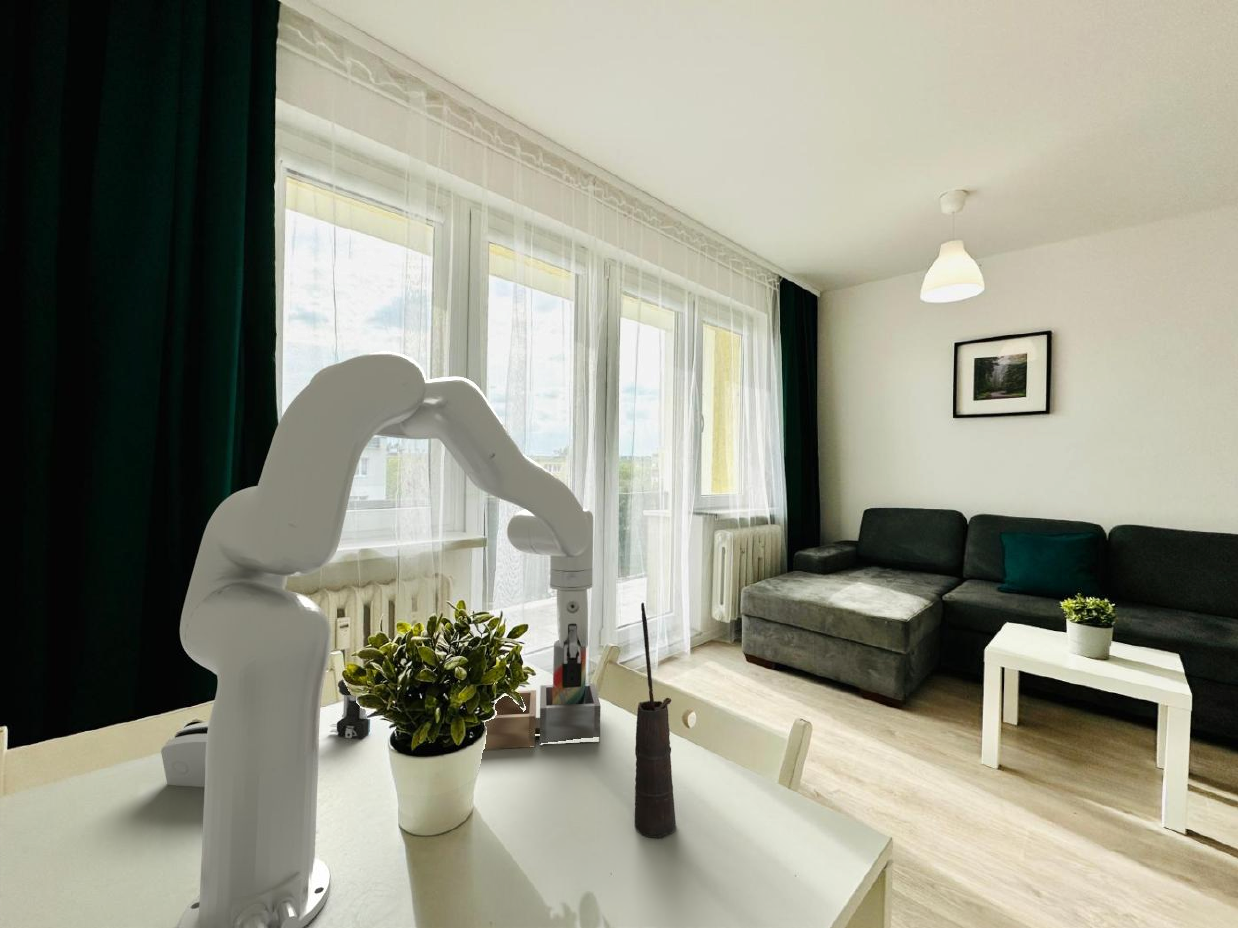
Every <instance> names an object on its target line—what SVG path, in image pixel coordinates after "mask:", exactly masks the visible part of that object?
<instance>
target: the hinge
mask: <svg viewBox="0 0 1238 928" xmlns="http://www.w3.org/2000/svg"><path fill="white" fill-rule="evenodd" d="M208 725H209V721H204V722H199V723H195V724H190V725H187V726H185V727H184V728H182V729H181V730H179V731H177V732H176V733H175V734H174V737H173V738H170V739H168V740H167V741H166V743H165V744H164V745H163V747H161V750H160V754H161V759H162V764H163V765H162V766H163V769H164V774H165V778H166V779H165V780H166V785H167V786H180V787H181V786H182V787H197V788H205V770H206V767H205V757H206V741H207V731H208Z"/></svg>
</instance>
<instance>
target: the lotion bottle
mask: <svg viewBox="0 0 1238 928" xmlns="http://www.w3.org/2000/svg"><path fill="white" fill-rule="evenodd" d="M568 633H569V626H568ZM566 644H569V643H566ZM577 644H578V643H577ZM568 651H569V650H567V652H568ZM580 655H581V662H582V680H581V687H572V688H563V687H562V663H564V648H563V649H562V648H561V647H560V643H559V639H558V640H556V641H554V644H553V666H552V667H553V670H552V672H553V673H552V685H553V705H573V704H585V686H586V684H587V683H586V681H587V680H586V679H587V678H586V676H587V673H586V671H587V648H584V646H581V644H580Z"/></svg>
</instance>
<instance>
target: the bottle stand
mask: <svg viewBox="0 0 1238 928" xmlns="http://www.w3.org/2000/svg"><path fill="white" fill-rule="evenodd" d="M517 691H518V692H519V694H520V696H521V697H522V699H523V702H524V704H525V706H526V710H525V711H524V712H523V710H522V709H521V708H520V705H518V704H516V703H515V702H514V701H513V699H512V698H510V697H509V696H504V697H502V698H501V699H499V700H498V701H497V703H496V704H495V710H496V711H497V715H496V716H495V718H494V719H491V720H489V721H486V722H485V726H486V727H487V735H486V744H485V750H484V751H489V750H490V749H495V750H500V749H499V748H513V749H517V748H516V747H530V746H535V747H536V737H535V734H540V737H539V742H540V743H539V744H541V743H548V742H558V741H566V740H573V739H581V738H593V737H600V738H601V702H600V699H599V698H600V697H599V696H598V695H599V694H598V691H597V687H596V683H595V682H594V683H586V686H585V704H573V705H553V684H545V685H540V691H539V692H540V693H539V695H540V696H539V717H537V689H536V690H535V689H531V690H517ZM490 751H491V750H490Z"/></svg>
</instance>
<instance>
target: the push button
mask: <svg viewBox="0 0 1238 928" xmlns="http://www.w3.org/2000/svg"><path fill="white" fill-rule="evenodd" d="M337 687H338V689H339V691H338V692H339V693H340V695H341V696H343V708H342V709H343V711H342V715H341V717H342V718H341V719H340V720H338V721H337V723H332V724H331V725H330V727H334V728H335V729H334V728H332V729H331V730H330V733H336V734H337V736H338V737H339V738H345V739H352V738H357V739H358V740H362V739H364V738H365V737H366V736H367V735H368V734H370V732H371V718H370V719H367V717H368V714H367V709H366V710H365V709H362V708H360V706H359V705H358V704H357V703H356V696H353V695H351V694H350V692H349V691H348V689H347V687H346V685H345V683H344V680H343V679H341V680H340V681H338V682H337Z"/></svg>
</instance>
